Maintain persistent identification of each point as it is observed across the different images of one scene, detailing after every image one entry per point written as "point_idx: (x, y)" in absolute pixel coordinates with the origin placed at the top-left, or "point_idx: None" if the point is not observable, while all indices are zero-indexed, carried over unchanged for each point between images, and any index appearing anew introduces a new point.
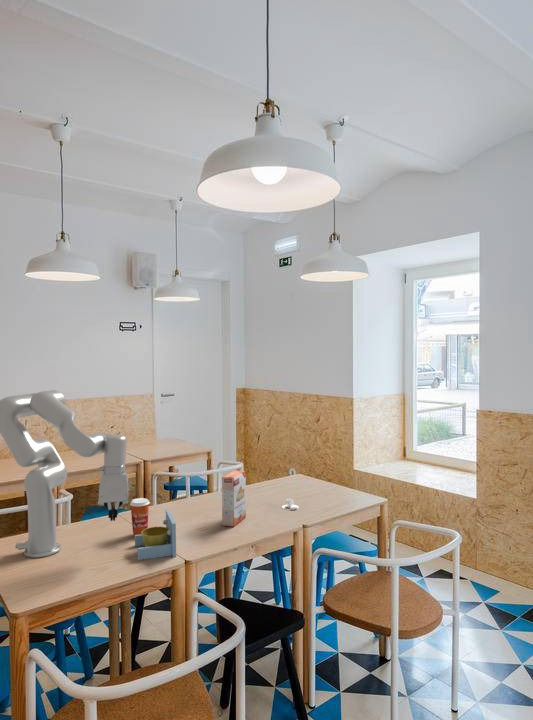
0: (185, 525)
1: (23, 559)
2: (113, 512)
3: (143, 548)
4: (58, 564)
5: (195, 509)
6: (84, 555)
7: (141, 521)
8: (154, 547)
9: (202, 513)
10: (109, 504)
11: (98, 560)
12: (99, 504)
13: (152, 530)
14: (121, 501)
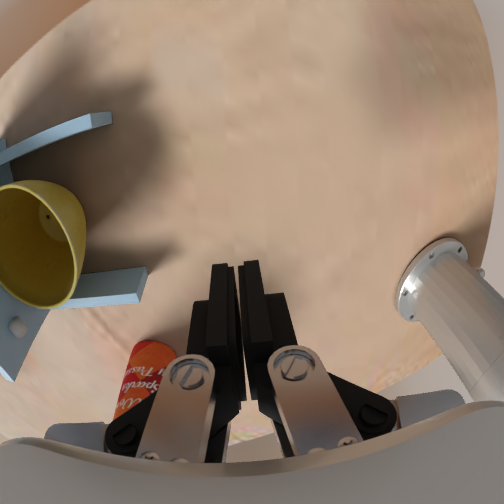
0: (56, 374)
1: (469, 236)
2: (233, 323)
3: (66, 122)
4: (417, 163)
5: None
6: (340, 220)
7: (135, 383)
8: (28, 138)
9: (57, 410)
10: (315, 419)
11: (287, 148)
12: (439, 391)
13: (56, 295)
14: (67, 448)
